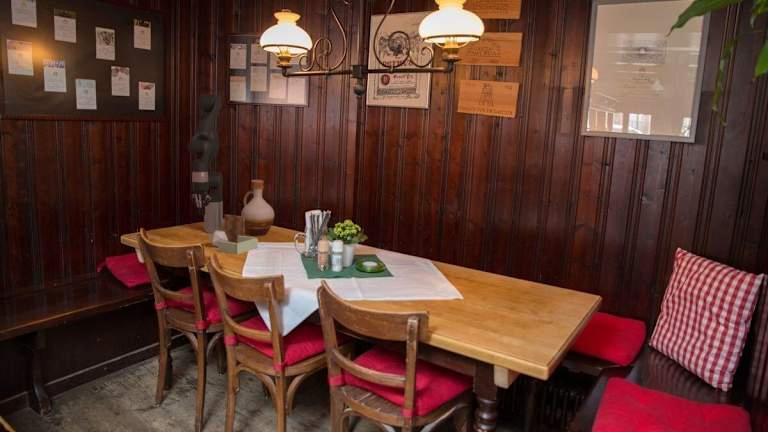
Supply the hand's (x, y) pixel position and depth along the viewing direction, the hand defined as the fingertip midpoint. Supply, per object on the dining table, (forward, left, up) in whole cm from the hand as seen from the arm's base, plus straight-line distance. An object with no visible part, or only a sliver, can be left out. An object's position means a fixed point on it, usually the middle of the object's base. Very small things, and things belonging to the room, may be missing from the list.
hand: (201, 214), depth 289 cm
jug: (+9, +33, -15) cm, 37 cm away
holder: (+23, 0, -15) cm, 27 cm away
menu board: (+12, +11, -15) cm, 22 cm away
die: (+11, 0, -15) cm, 19 cm away
